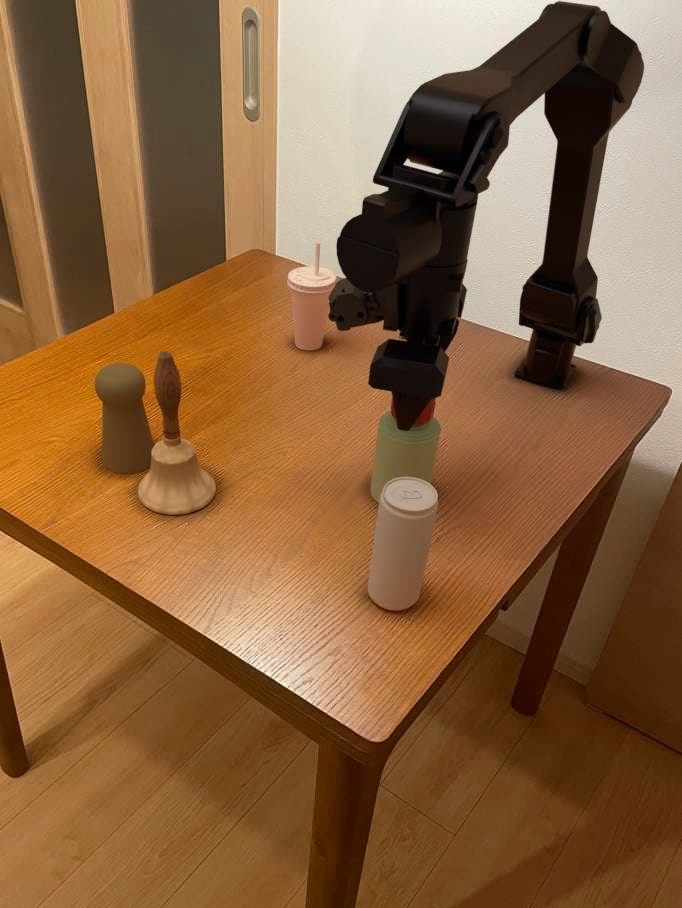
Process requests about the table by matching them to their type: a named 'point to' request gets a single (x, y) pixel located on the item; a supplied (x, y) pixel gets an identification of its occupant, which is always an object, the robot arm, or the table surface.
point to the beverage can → (402, 542)
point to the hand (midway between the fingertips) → (409, 410)
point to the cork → (124, 419)
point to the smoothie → (310, 302)
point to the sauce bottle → (403, 452)
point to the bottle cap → (425, 415)
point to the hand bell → (173, 454)
